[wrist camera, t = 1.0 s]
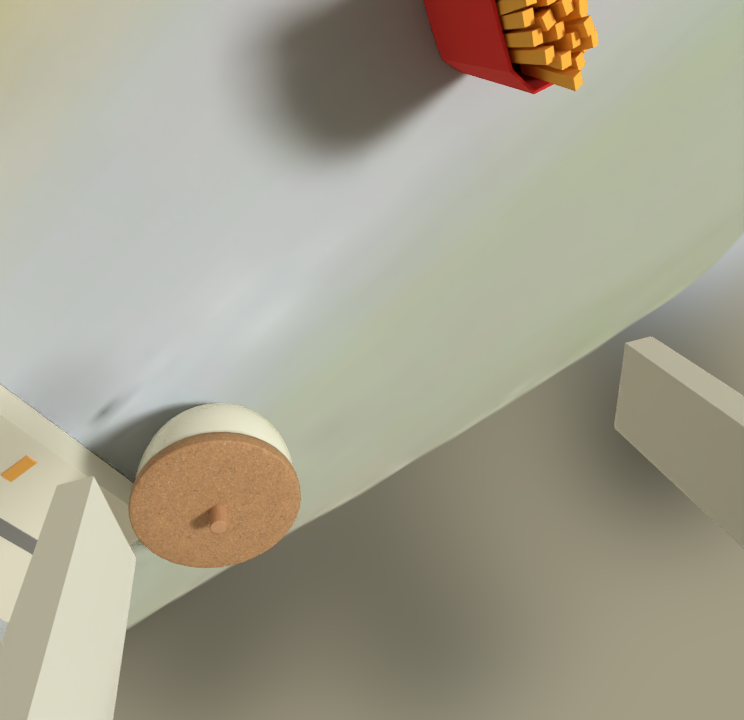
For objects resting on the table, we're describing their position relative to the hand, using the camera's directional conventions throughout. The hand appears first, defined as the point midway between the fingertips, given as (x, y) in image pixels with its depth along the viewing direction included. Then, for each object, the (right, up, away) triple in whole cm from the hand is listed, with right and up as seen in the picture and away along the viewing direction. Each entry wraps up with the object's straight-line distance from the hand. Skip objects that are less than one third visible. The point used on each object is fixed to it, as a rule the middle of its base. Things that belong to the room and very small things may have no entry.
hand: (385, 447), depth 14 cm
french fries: (+5, +23, +19) cm, 30 cm away
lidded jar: (-12, -4, +29) cm, 31 cm away
